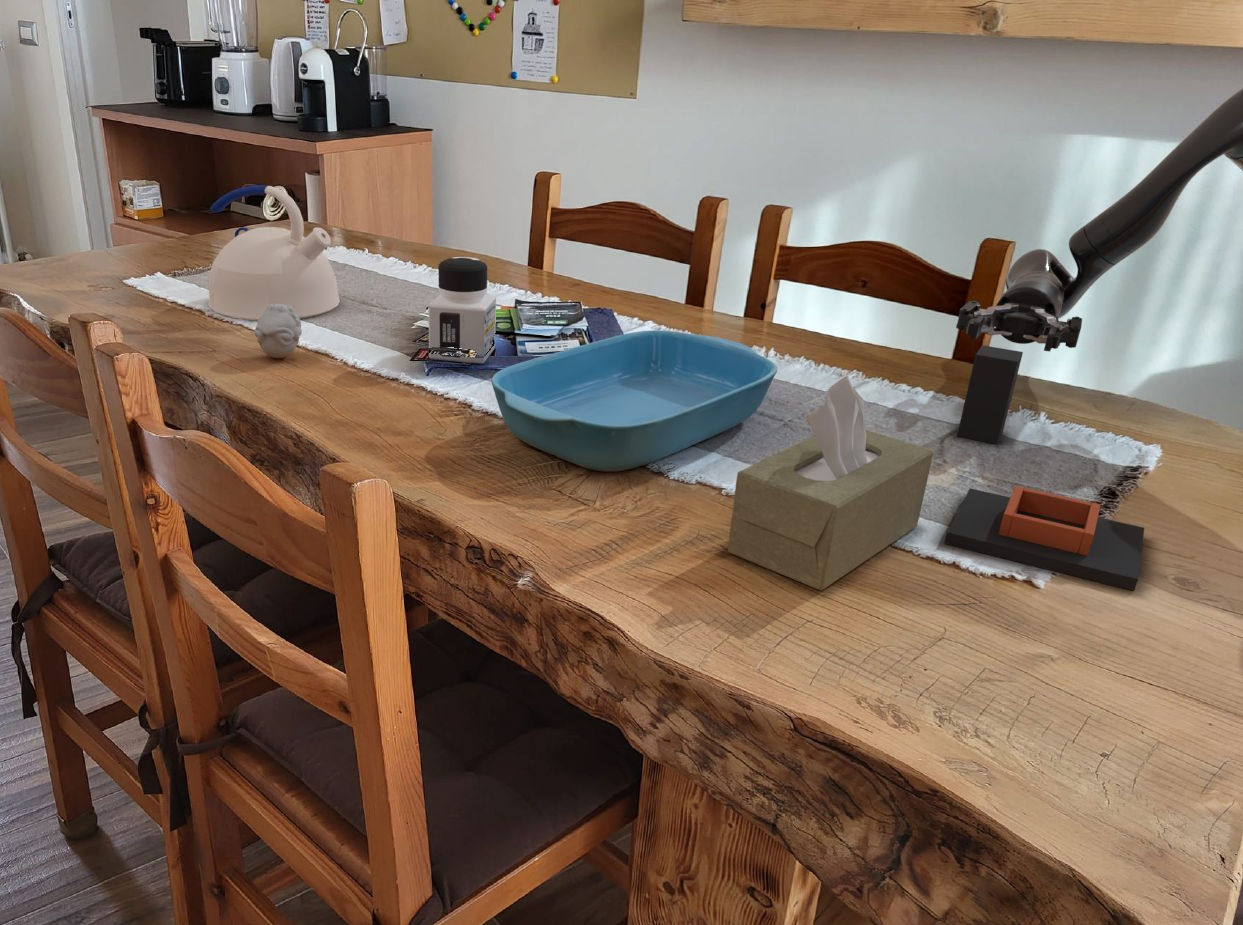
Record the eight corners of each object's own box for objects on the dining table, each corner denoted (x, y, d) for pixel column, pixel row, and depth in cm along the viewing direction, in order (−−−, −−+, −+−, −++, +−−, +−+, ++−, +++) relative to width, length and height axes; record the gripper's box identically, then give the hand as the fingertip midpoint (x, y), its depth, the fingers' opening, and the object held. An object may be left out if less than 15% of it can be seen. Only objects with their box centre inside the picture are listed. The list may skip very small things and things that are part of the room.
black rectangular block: (1002, 432, 124) (1023, 351, 120) (996, 444, 121) (1017, 361, 116) (963, 424, 126) (982, 345, 122) (956, 436, 123) (975, 354, 118)
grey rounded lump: (312, 351, 143) (308, 301, 140) (289, 366, 137) (285, 314, 134) (271, 347, 144) (267, 297, 141) (247, 361, 138) (242, 310, 135)
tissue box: (828, 494, 106) (855, 344, 99) (918, 526, 100) (954, 369, 93) (723, 553, 94) (745, 387, 87) (819, 593, 88) (851, 418, 81)
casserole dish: (600, 502, 103) (605, 435, 99) (452, 438, 116) (452, 377, 113) (801, 417, 126) (810, 360, 123) (658, 371, 140) (663, 320, 137)
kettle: (296, 328, 153) (287, 201, 144) (180, 310, 159) (164, 188, 151) (365, 297, 170) (360, 182, 161) (257, 282, 176) (247, 171, 168)
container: (483, 364, 140) (484, 268, 135) (428, 359, 142) (427, 264, 136) (495, 348, 147) (497, 256, 141) (442, 344, 148) (442, 252, 142)
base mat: (1140, 538, 100) (1151, 506, 98) (1134, 591, 90) (1145, 556, 89) (967, 498, 107) (974, 468, 105) (944, 543, 97) (952, 511, 96)
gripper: (1079, 345, 138) (1066, 377, 125) (967, 327, 144) (944, 356, 131) (1094, 289, 134) (1083, 316, 122) (979, 273, 141) (957, 297, 128)
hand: (1010, 337), depth 127 cm, fingers open, 8 cm apart
